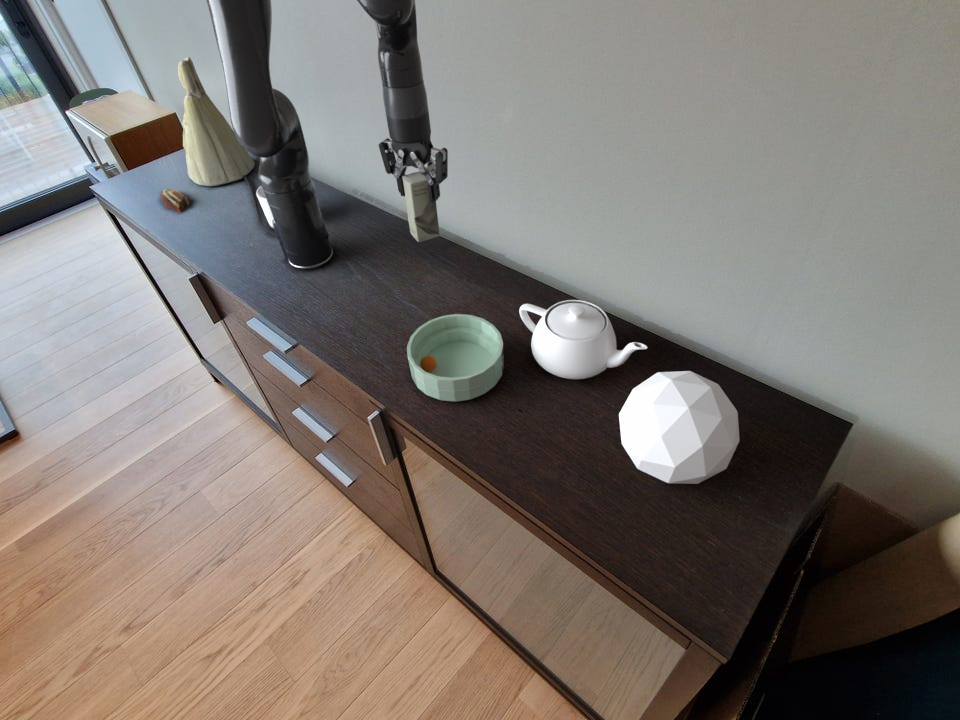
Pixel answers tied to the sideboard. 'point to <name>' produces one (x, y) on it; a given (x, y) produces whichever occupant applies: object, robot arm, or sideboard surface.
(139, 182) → the sideboard surface
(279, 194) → the robot arm
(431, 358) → the ball
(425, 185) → the box
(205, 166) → the sculpture
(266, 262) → the sideboard surface
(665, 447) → the geometric shape
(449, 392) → the bowl
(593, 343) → the teapot
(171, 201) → the brown striped bar
